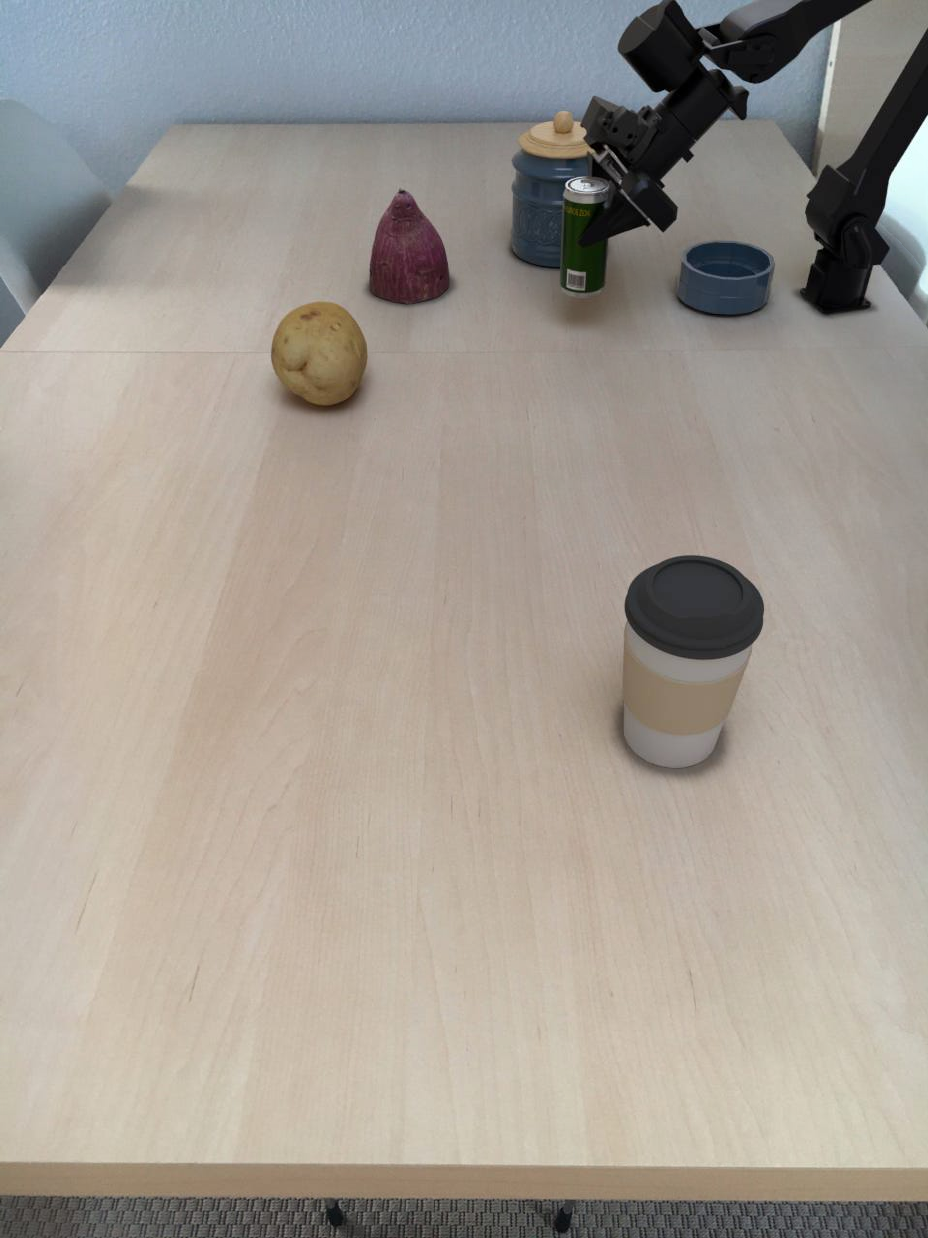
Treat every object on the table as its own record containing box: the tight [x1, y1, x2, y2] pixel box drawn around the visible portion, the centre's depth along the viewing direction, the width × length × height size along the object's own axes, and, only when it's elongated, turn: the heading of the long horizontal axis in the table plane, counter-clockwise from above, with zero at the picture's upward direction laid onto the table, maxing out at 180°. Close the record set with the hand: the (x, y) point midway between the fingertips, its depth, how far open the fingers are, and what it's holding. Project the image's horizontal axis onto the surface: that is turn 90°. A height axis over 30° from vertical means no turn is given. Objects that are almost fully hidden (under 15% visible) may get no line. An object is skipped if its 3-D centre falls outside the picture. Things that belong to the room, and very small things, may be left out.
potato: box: [270, 301, 369, 406], centre depth 107 cm, size 10×12×10 cm
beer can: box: [559, 177, 610, 299], centre depth 113 cm, size 5×5×12 cm
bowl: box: [676, 239, 776, 315], centre depth 123 cm, size 11×11×5 cm
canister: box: [510, 110, 595, 268], centre depth 130 cm, size 13×13×18 cm
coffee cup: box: [622, 554, 765, 769], centre depth 69 cm, size 9×9×15 cm
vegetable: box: [368, 187, 451, 305], centre depth 124 cm, size 10×10×15 cm
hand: (573, 234), depth 112 cm, fingers closed on beer can, 5 cm apart
